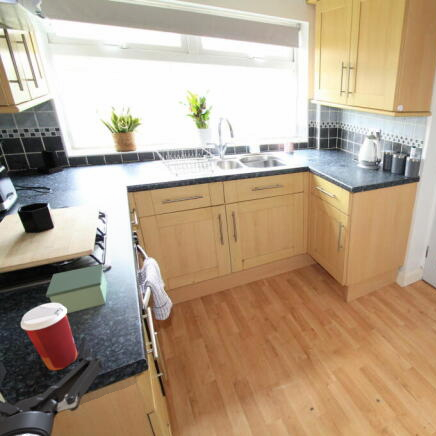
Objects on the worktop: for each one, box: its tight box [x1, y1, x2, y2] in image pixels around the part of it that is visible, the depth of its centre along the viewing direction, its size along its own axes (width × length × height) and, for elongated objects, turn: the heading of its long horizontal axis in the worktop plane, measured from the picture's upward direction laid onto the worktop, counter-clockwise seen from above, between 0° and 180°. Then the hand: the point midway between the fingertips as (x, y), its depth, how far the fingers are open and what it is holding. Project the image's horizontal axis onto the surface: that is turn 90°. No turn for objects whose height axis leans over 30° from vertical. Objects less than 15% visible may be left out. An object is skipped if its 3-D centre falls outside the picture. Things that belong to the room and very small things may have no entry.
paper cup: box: [20, 302, 78, 371], centre depth 71 cm, size 8×8×14 cm
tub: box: [45, 263, 108, 315], centre depth 92 cm, size 12×11×8 cm
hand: (45, 353), depth 65 cm, fingers open, 13 cm apart
